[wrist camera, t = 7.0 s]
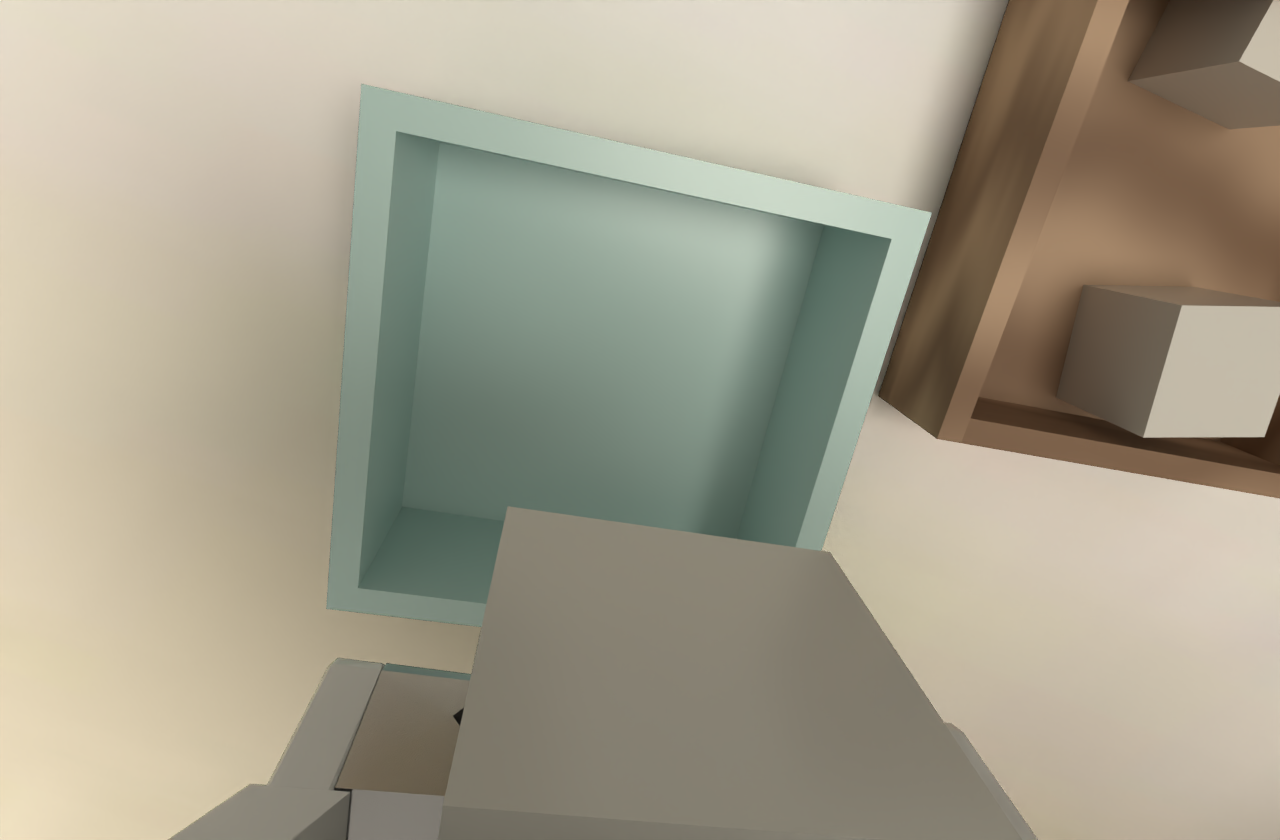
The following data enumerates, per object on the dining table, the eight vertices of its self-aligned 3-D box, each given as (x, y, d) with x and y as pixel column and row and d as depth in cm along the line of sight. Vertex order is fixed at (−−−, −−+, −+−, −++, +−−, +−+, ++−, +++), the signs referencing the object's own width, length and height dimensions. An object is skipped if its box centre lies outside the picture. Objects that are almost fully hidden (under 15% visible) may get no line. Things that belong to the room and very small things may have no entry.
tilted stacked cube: (748, 794, 10) (856, 1182, 6) (465, 770, 9) (387, 1184, 5) (829, 552, 8) (1030, 851, 5) (508, 506, 8) (444, 804, 4)
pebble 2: (1160, 397, 25) (1264, 436, 21) (1056, 397, 24) (1143, 437, 21) (1193, 286, 23) (1310, 307, 20) (1083, 284, 23) (1182, 305, 19)
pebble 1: (1222, 129, 22) (1355, 119, 18) (1121, 82, 21) (1238, 61, 17) (1298, -5, 21) (1458, -45, 17) (1195, -60, 20) (1337, -115, 16)
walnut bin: (1209, 456, 27) (1344, 515, 22) (878, 395, 25) (948, 447, 20) (1453, -25, 21) (1698, -82, 17) (1059, -151, 19) (1211, -256, 15)
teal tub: (742, 562, 26) (784, 662, 21) (382, 513, 24) (326, 608, 19) (845, 204, 22) (931, 212, 17) (420, 109, 20) (361, 84, 15)
